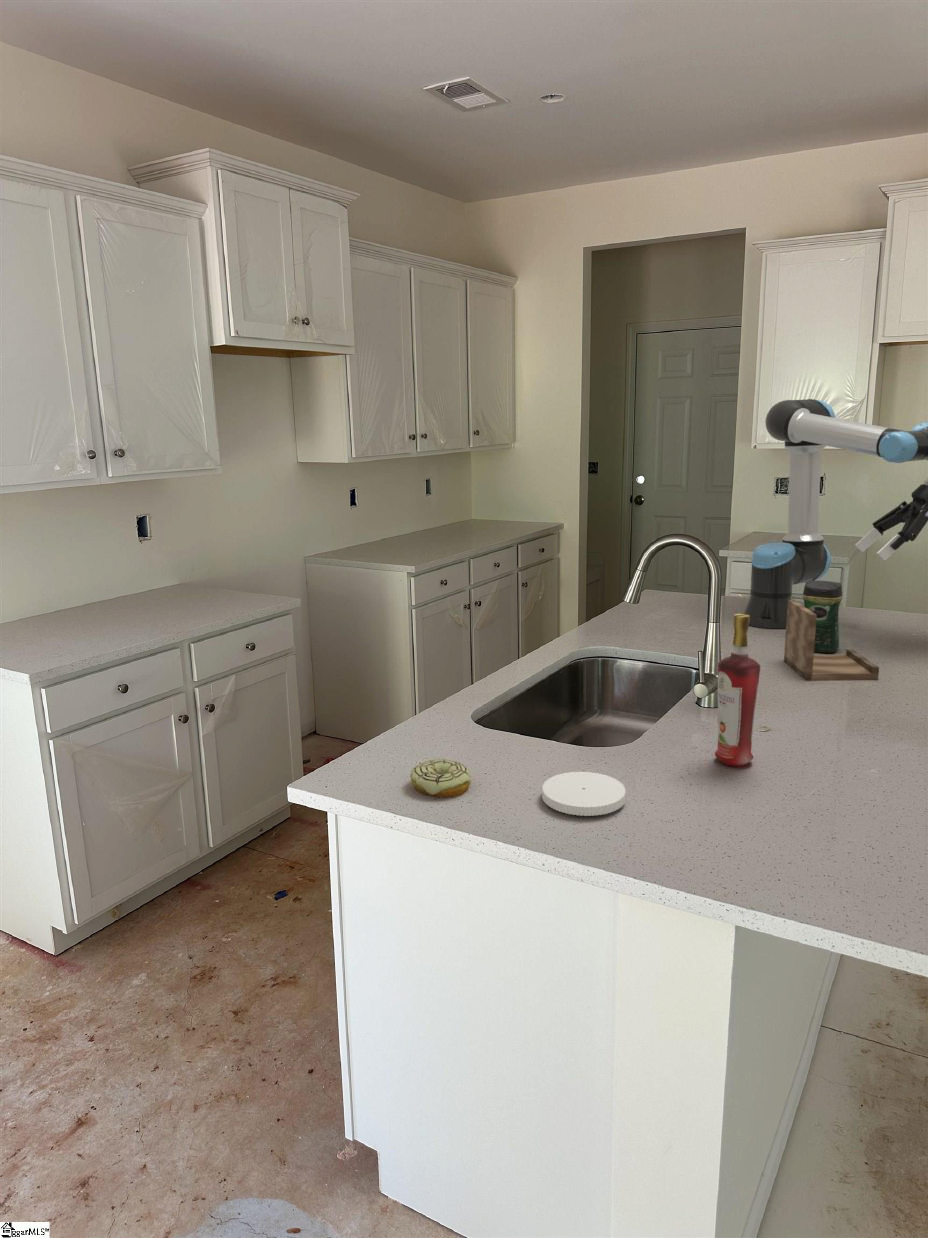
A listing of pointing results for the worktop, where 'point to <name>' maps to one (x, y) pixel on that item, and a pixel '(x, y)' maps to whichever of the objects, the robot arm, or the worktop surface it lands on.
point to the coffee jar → (824, 612)
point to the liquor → (737, 699)
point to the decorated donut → (441, 778)
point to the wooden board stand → (819, 666)
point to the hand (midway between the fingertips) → (869, 552)
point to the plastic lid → (583, 793)
